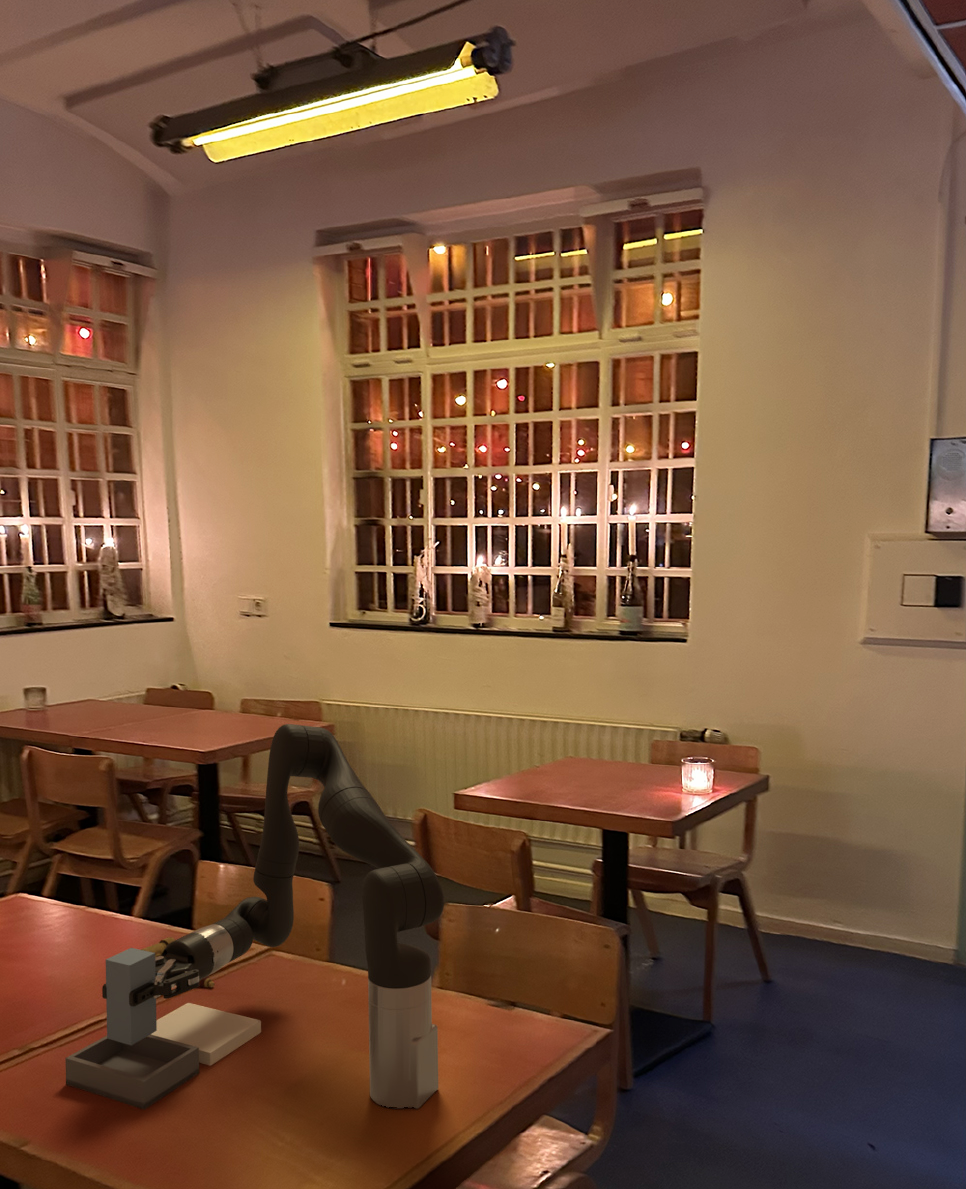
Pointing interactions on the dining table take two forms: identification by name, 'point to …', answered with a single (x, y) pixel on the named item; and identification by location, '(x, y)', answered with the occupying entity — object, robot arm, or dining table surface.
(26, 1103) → the dining table surface
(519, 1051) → the dining table surface
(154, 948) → the gavel
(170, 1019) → the bench board
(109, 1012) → the tile block
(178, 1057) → the tray
